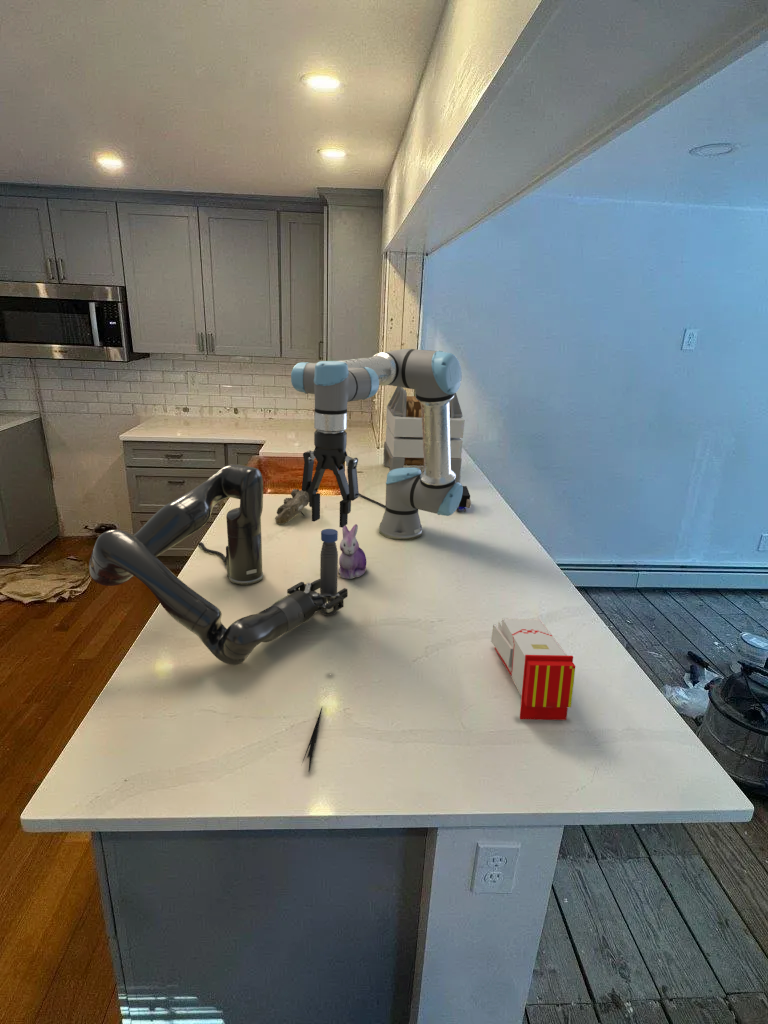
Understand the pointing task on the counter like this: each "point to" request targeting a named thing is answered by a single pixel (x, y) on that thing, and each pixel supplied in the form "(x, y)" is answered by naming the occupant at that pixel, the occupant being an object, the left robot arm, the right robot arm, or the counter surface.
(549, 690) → the toy
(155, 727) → the counter surface
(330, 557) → the bottle
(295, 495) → the fossil
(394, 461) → the white wooden crate
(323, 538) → the cap
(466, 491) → the figurine character
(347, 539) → the figurine
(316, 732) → the feather
